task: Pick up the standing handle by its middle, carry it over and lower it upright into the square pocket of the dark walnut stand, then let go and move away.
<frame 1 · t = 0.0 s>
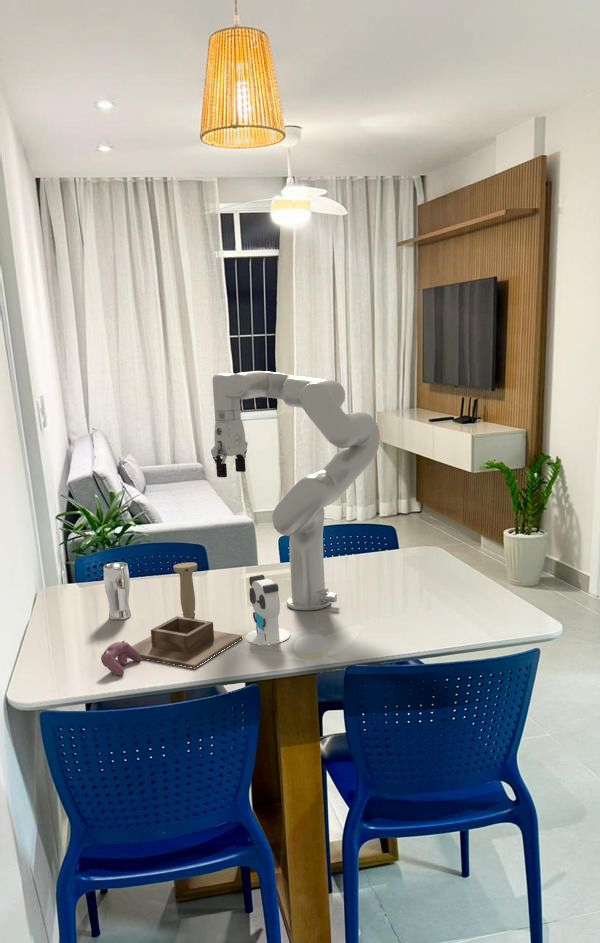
hand: (231, 474, 224), 37 cm above the table, tool pointing down, fingers open, 9 cm apart
beer glass: (120, 617, 215), on the table
video game controller: (121, 668, 180), on the table
handle: (189, 617, 212), on the table
holder: (183, 646, 191), on the table
panda figurine: (267, 637, 195), on the table
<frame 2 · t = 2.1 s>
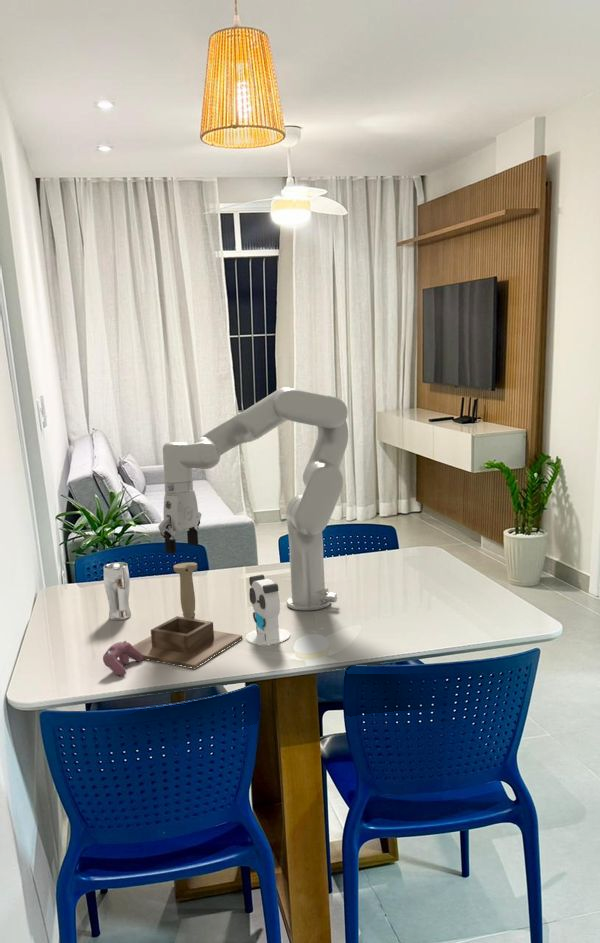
hand: (182, 549, 209), 20 cm above the table, tool pointing down, fingers open, 9 cm apart
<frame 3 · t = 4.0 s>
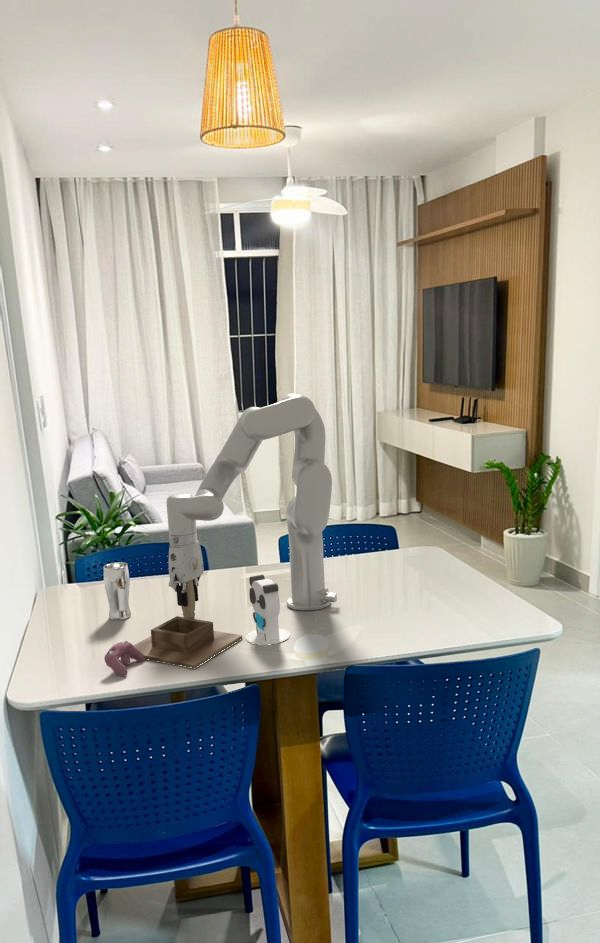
hand: (188, 602, 211), 4 cm above the table, tool pointing down, fingers closed on handle, 4 cm apart
handle: (189, 617, 212), on the table, touching gripper
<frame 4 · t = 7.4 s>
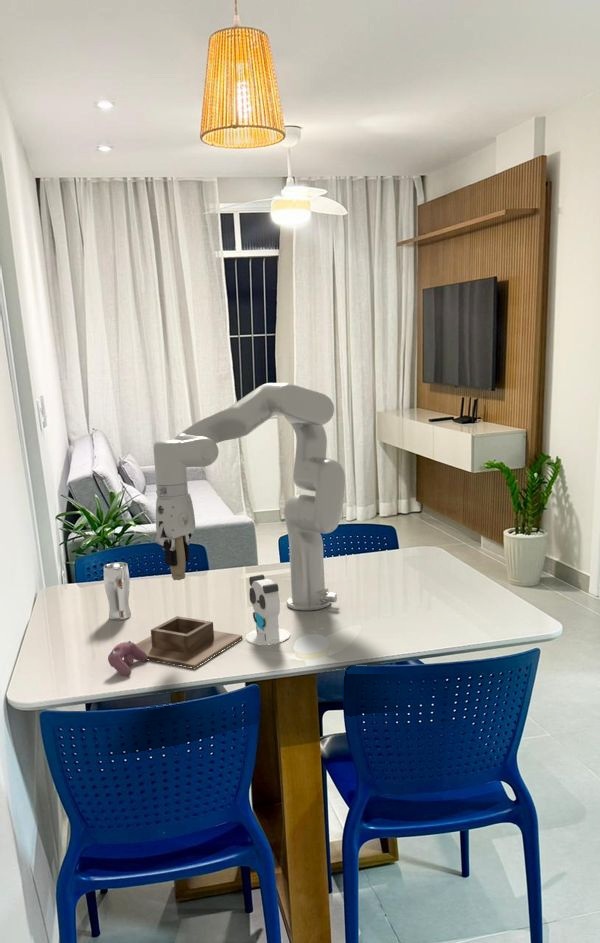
hand: (177, 562, 189), 21 cm above the table, tool pointing down, fingers closed on handle, 4 cm apart
handle: (178, 579, 190), point 17 cm above the table, touching gripper
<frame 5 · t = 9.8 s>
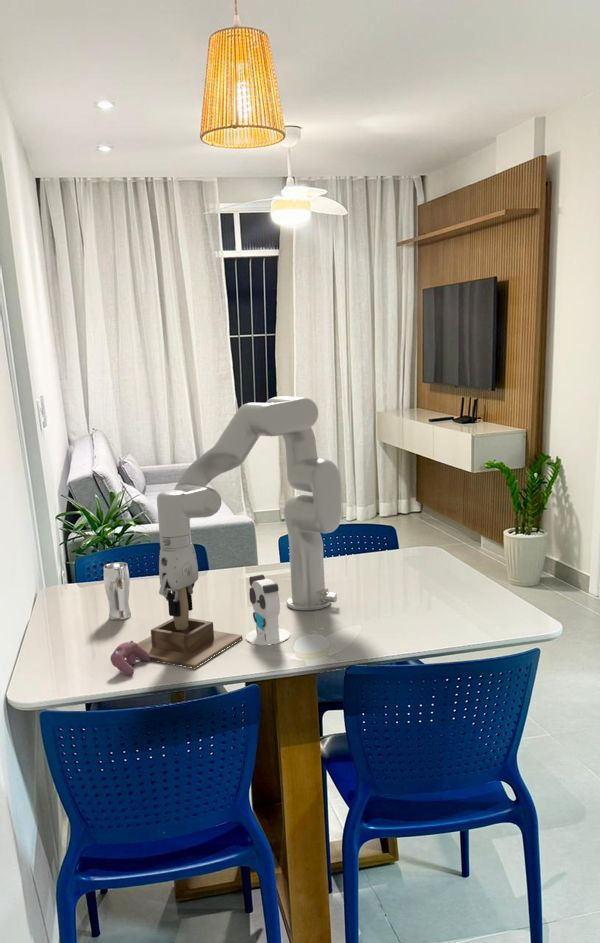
hand: (180, 612, 189), 9 cm above the table, tool pointing down, fingers closed on handle, 4 cm apart
handle: (181, 629, 190), point 5 cm above the table, touching gripper
when the fingers open (7 cm above the table, at t = 10.6 s): handle drops 2 cm, resting on holder.
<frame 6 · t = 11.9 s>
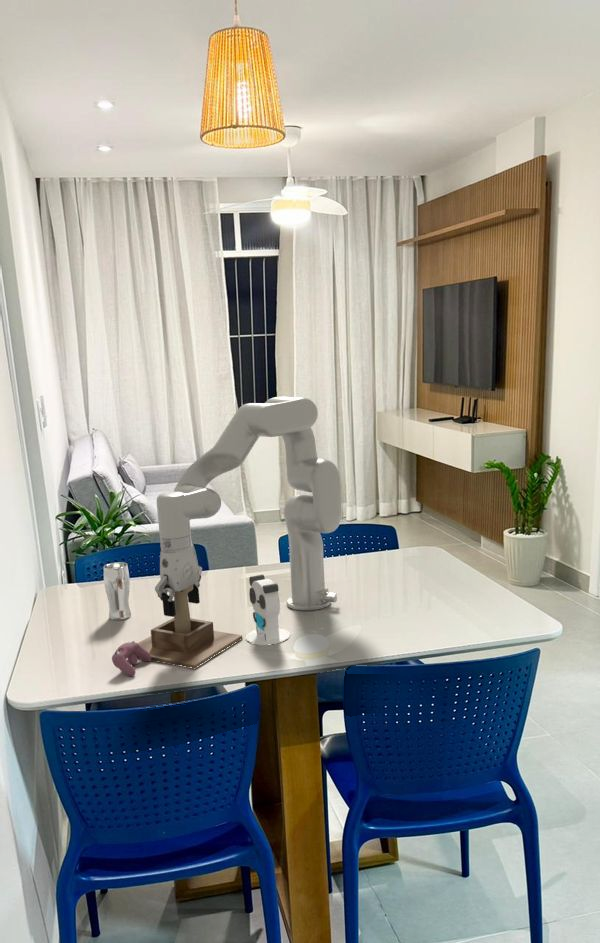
hand: (182, 609, 189), 10 cm above the table, tool pointing down, fingers open, 9 cm apart
handle: (183, 643, 191), point 1 cm above the table, touching holder
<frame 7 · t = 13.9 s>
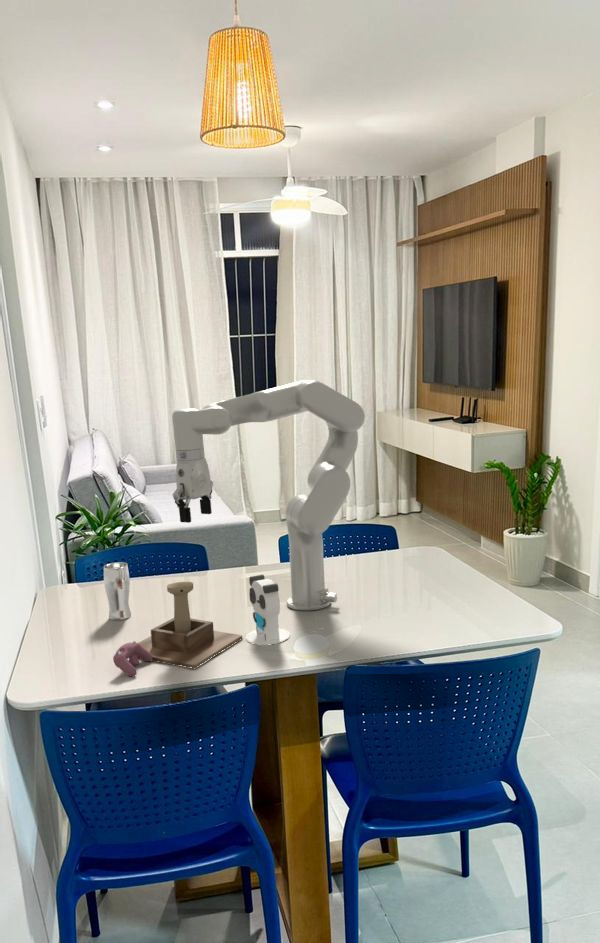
hand: (196, 517, 205), 29 cm above the table, tool pointing down, fingers open, 9 cm apart
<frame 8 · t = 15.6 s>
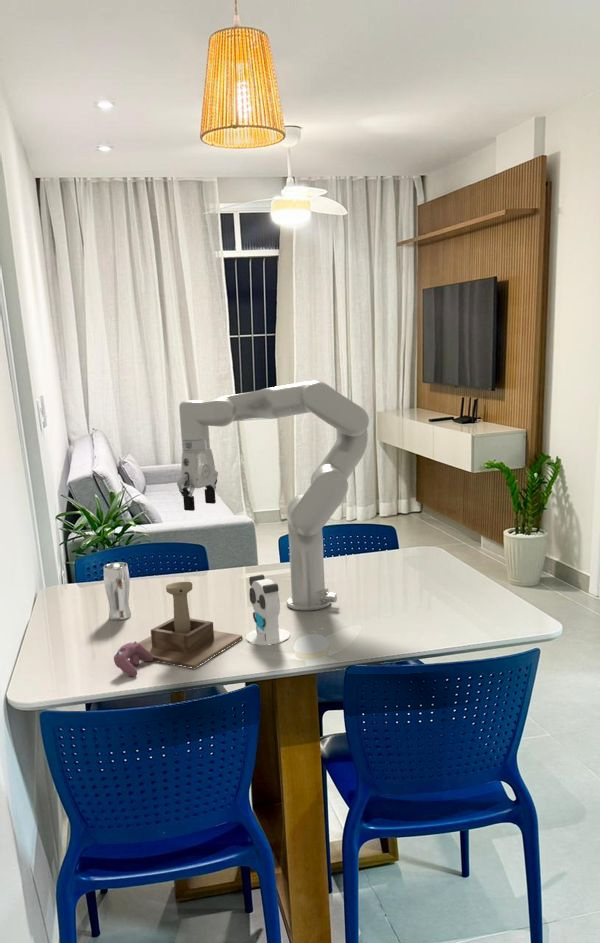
hand: (200, 506, 211), 30 cm above the table, tool pointing down, fingers open, 9 cm apart
at the end: handle 0.2 cm off-centre on the holder, point 0.8 cm above the holder's base; handle tilted 0°; the gripper is holding nothing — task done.
